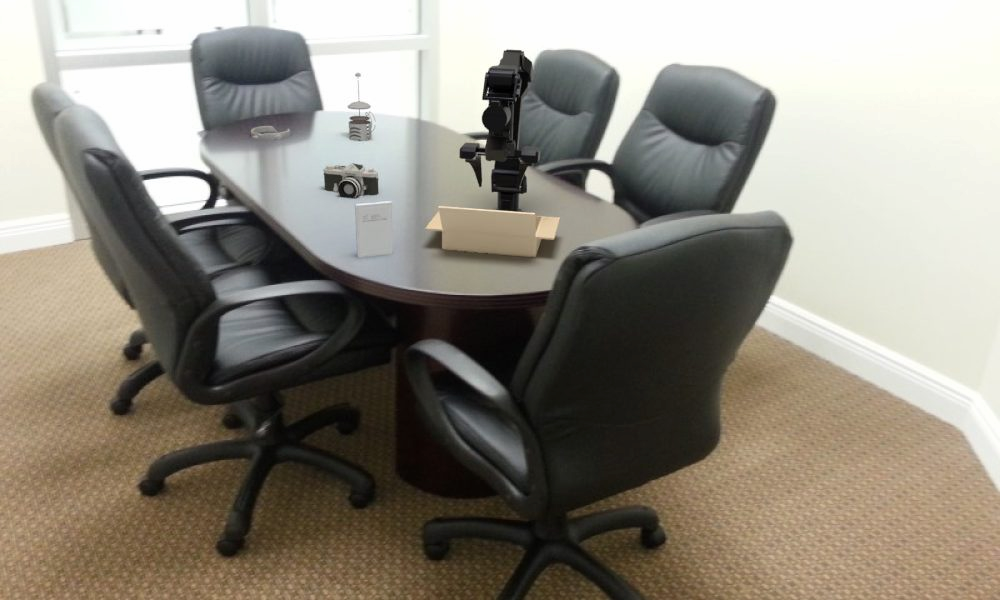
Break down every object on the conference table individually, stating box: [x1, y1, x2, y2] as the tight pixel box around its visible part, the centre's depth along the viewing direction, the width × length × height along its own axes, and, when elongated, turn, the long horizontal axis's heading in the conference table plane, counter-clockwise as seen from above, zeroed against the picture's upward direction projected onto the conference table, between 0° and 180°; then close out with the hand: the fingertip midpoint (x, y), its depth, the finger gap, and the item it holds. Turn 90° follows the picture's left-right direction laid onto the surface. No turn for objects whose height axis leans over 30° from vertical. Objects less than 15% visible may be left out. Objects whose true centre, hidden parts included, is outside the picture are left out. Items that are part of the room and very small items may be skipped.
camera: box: [323, 162, 379, 199], centre depth 225 cm, size 16×9×10 cm, turn 78°
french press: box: [346, 72, 376, 142], centre depth 282 cm, size 10×12×25 cm
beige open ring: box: [250, 125, 292, 141], centre depth 285 cm, size 14×14×5 cm
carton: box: [425, 210, 561, 258], centre depth 194 cm, size 16×30×5 cm, turn 81°
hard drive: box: [354, 200, 394, 258], centre depth 182 cm, size 2×8×12 cm, turn 114°
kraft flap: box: [438, 205, 536, 237], centre depth 182 cm, size 8×22×1 cm
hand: (499, 188), depth 196 cm, fingers open, 9 cm apart
